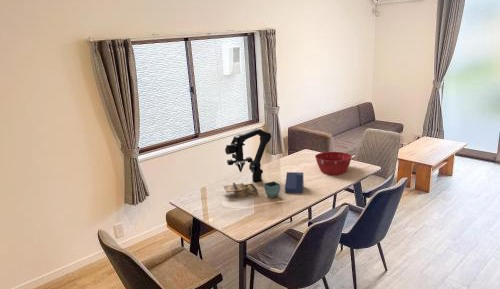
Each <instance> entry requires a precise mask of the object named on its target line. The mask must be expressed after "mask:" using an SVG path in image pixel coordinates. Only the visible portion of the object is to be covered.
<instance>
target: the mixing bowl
mask: <svg viewBox="0 0 500 289" xmlns="http://www.w3.org/2000/svg"><path fill="white" fill-rule="evenodd" d="M314 157H315V160H316V163H317V164H316V165H317V166H318V168H319V170H320V172H321V173H322V174H324V175H327V174H328V175H327V176H340V174H341V175H342V174H343V173H344V174H345V173H346V172H347V170H348V169H349V166H350V164H351V159H352V157H353V156H352V155H351V154H350V153H346V152H341V151H326V152H321V153H317V154H316V155H315V156H314Z"/></svg>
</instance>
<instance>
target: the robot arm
mask: <svg viewBox="0 0 500 289" xmlns="http://www.w3.org/2000/svg"><path fill="white" fill-rule="evenodd" d="M255 136H259V141H260V142H259V146H258V148H257V151H256V153H255V157H254V159H253V158H252V156H248V157H245V158H244V147H243V146H246V144H245V142H246V141H247V140H248V139H250V138H253V137H255ZM271 139H272V133H270V132H267V131H264V130H262V129H261V128H255V129H253V130H250V131H248V132H245V133H241V134H240V133H239V134H235V135H234V136H233V138H232V140H231V143H230V144H226V147H225V149H224V151H225V155H231V157H232V159H227V161H226V163H227V164H226V165H228V166H233V165H235V166H236V167H237V169H238V170H239V173H242V171H243V169H244V166H245V165H246V162H247V163H249V165H248V167H249V168H248V169H249V171H250V172H251V173H252V175H251V176H252V177H251V178H252V181H253V182H254V183H259V182H263V178H262V177H263V176H262V174H263V173H264V170H263V169H261V167H262V165H261V161H262V158H263V155H264V151H265V150H266V147H267V144H269V142H270V141H271Z"/></svg>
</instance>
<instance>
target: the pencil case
mask: <svg viewBox="0 0 500 289" xmlns="http://www.w3.org/2000/svg"><path fill="white" fill-rule="evenodd" d="M244 185H245V187H246V188H247V186H249V185H251V186H252V188H254V189H252V190H242V191H235V192H233V193H234V195H235V197H236V199H239V198H246V197H252V196H258V188H257V187H256V186H255V185H254V183H246V184H244Z"/></svg>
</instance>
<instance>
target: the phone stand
mask: <svg viewBox="0 0 500 289" xmlns="http://www.w3.org/2000/svg"><path fill="white" fill-rule="evenodd" d="M284 185H285V186H284V193H285V194H301V195H302V194H303V192H304V187H305V186H304V185H305V183H304V172H300V171H299V172H297V171H296V172H292V171H291V172H290V171H289V172H287V171H286V176H285V184H284Z"/></svg>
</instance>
